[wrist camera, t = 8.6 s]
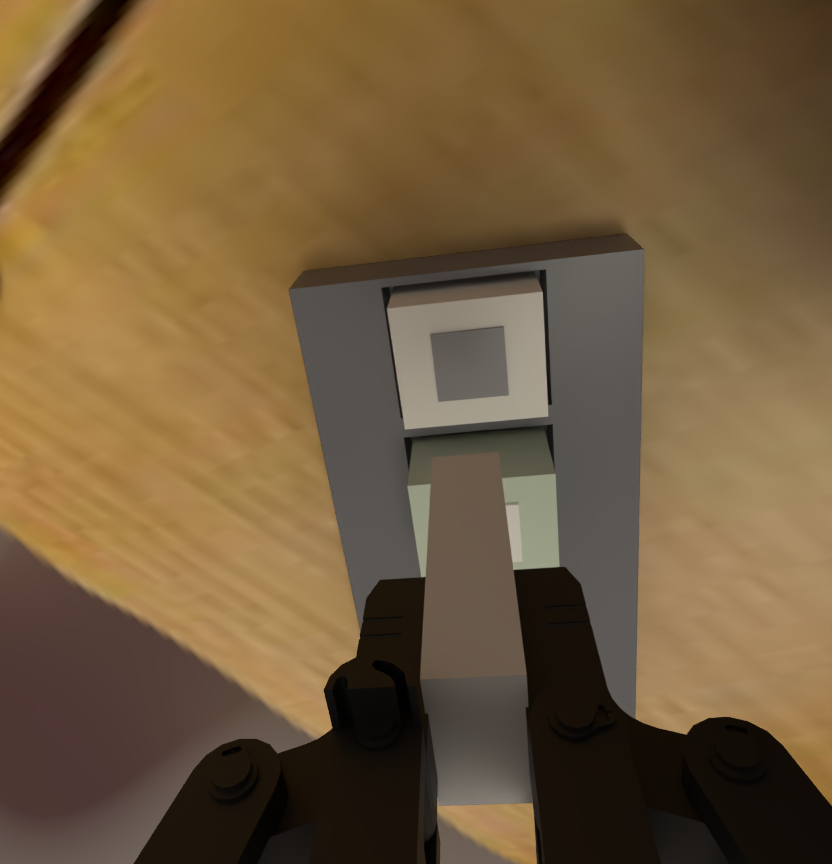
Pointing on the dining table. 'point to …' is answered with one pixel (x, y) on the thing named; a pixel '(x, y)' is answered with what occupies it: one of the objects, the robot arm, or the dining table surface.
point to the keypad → (564, 427)
